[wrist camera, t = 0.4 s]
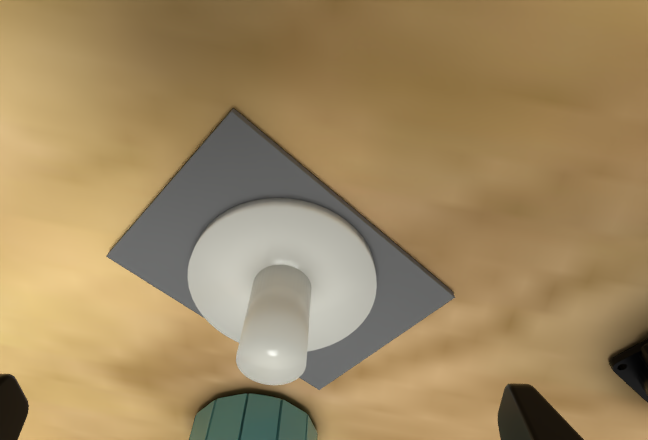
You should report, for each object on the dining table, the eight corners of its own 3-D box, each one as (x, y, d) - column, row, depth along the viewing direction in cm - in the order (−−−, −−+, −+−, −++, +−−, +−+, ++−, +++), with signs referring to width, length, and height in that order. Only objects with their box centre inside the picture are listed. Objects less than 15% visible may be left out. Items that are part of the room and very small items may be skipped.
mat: (453, 292, 24) (454, 297, 24) (319, 384, 28) (319, 389, 28) (233, 107, 19) (231, 111, 19) (109, 251, 23) (106, 256, 23)
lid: (414, 275, 23) (432, 361, 19) (292, 365, 27) (283, 454, 22) (271, 159, 20) (253, 228, 16) (156, 278, 24) (114, 362, 19)
